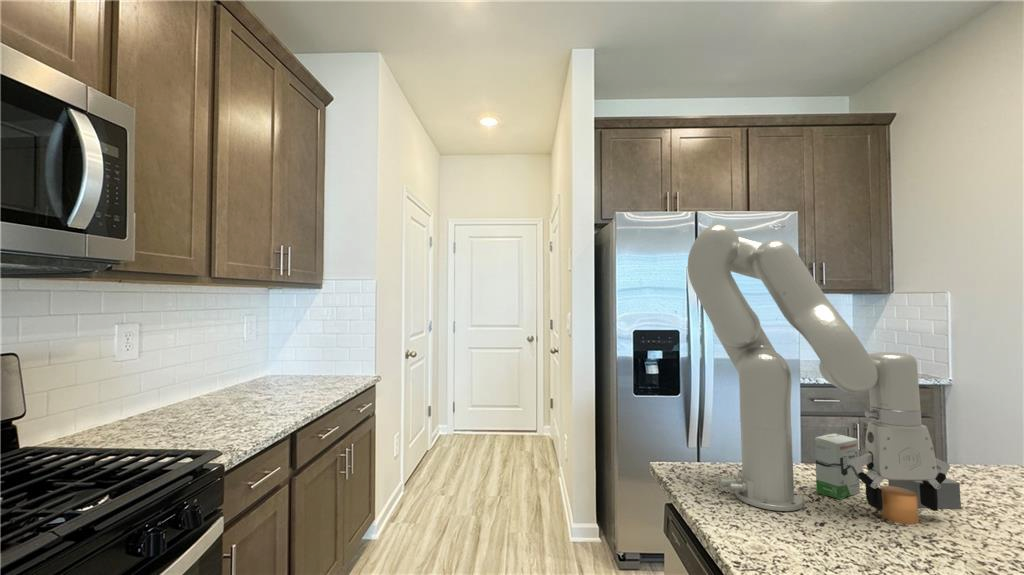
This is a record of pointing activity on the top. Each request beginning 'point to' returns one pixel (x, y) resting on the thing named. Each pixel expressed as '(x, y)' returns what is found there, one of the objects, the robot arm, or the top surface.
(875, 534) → the top surface
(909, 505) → the cap
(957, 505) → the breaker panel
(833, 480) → the ink box
